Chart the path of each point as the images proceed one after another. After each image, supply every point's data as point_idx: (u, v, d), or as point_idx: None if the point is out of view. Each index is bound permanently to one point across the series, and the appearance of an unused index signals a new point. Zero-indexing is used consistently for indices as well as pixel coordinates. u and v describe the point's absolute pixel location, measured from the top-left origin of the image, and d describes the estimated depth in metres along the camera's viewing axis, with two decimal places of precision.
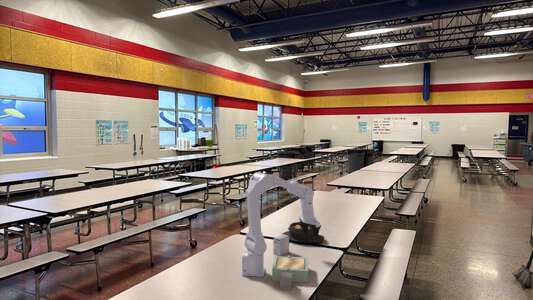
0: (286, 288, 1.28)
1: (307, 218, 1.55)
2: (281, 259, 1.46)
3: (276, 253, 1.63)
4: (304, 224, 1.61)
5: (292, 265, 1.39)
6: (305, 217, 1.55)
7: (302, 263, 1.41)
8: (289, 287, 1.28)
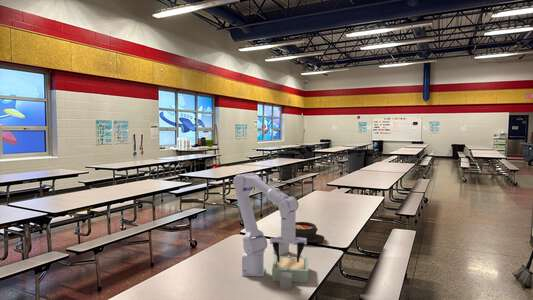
0: (286, 288, 1.28)
1: None
2: (281, 259, 1.46)
3: None
4: (297, 247, 1.30)
5: (292, 265, 1.39)
6: None
7: (302, 263, 1.41)
8: (289, 287, 1.28)
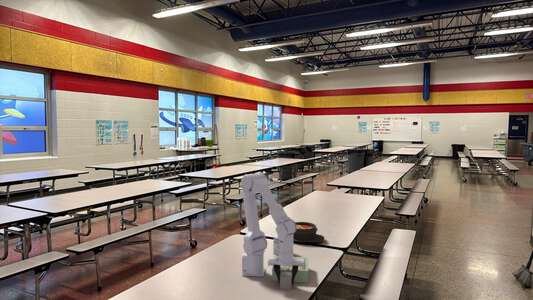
0: (286, 288, 1.28)
1: None
2: None
3: (276, 253, 1.63)
4: None
5: None
6: None
7: None
8: (289, 287, 1.28)
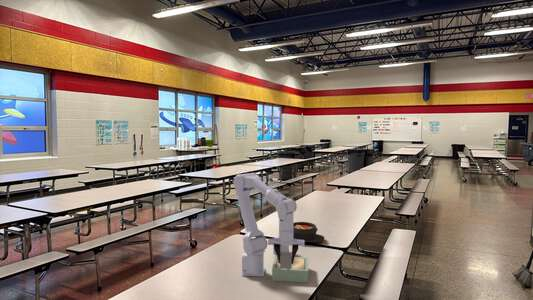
0: (286, 267, 1.28)
1: None
2: None
3: None
4: None
5: (292, 265, 1.39)
6: None
7: (302, 263, 1.41)
8: (289, 266, 1.28)
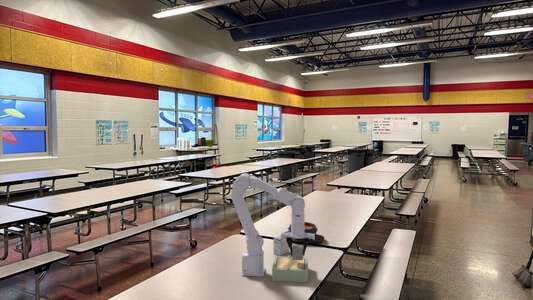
0: (298, 259, 1.39)
1: None
2: (281, 259, 1.46)
3: (276, 253, 1.63)
4: None
5: (292, 265, 1.39)
6: None
7: (302, 263, 1.41)
8: (301, 257, 1.39)
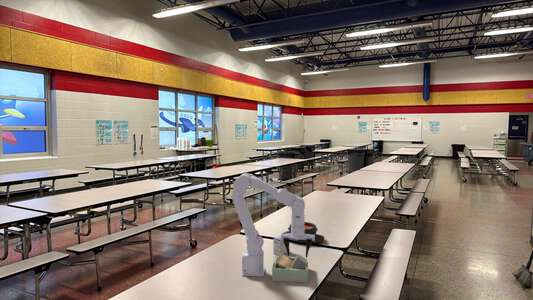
0: None
1: None
2: (282, 255, 1.46)
3: (276, 253, 1.63)
4: None
5: (291, 267, 1.39)
6: None
7: None
8: None
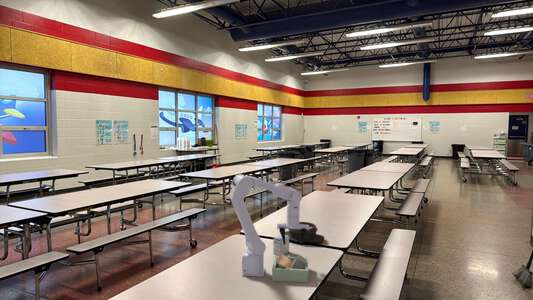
0: None
1: None
2: (282, 255, 1.46)
3: (276, 253, 1.63)
4: None
5: (291, 267, 1.39)
6: None
7: None
8: None
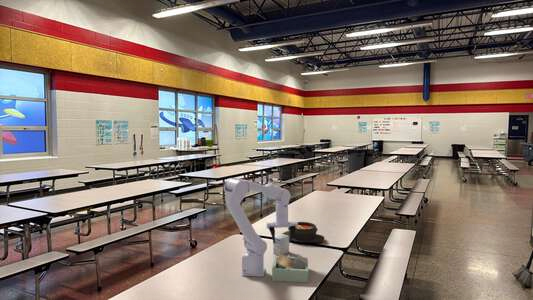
0: None
1: None
2: (282, 255, 1.46)
3: (276, 253, 1.63)
4: (289, 230, 1.52)
5: (291, 267, 1.39)
6: None
7: None
8: None
